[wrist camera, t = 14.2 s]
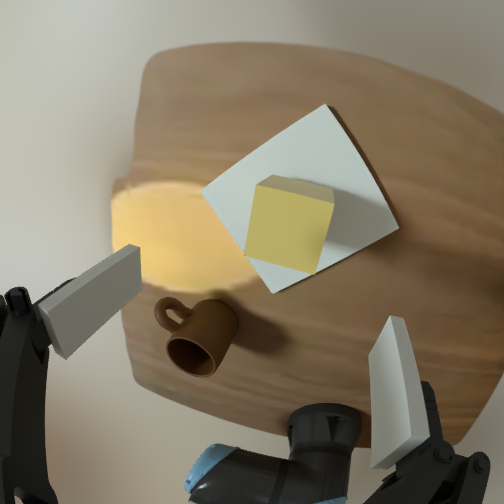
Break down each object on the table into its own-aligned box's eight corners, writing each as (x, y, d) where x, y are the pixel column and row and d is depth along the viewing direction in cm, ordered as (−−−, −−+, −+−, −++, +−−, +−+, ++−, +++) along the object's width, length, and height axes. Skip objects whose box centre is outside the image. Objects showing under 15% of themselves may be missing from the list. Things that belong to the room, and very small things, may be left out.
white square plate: (274, 290, 36) (258, 329, 29) (203, 189, 34) (167, 206, 26) (397, 225, 29) (417, 254, 21) (325, 105, 26) (324, 91, 18)
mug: (167, 286, 41) (133, 319, 33) (200, 265, 38) (166, 300, 30) (213, 342, 44) (190, 382, 35) (249, 328, 40) (229, 372, 32)
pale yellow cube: (272, 174, 28) (255, 184, 21) (333, 188, 27) (334, 203, 20) (261, 230, 30) (243, 255, 24) (318, 245, 29) (314, 274, 23)
